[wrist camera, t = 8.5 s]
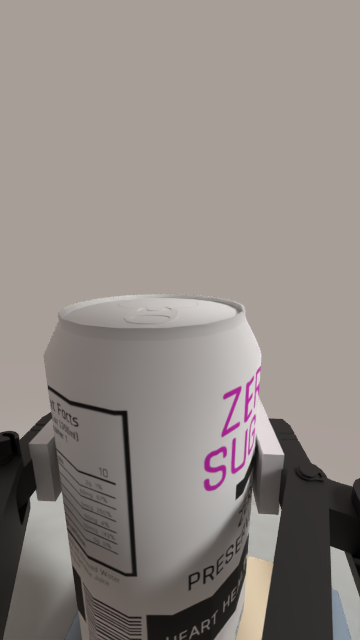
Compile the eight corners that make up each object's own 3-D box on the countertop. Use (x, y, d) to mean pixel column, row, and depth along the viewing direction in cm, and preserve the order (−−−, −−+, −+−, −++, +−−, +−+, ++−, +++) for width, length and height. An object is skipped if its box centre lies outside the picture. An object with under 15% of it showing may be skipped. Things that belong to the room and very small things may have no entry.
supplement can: (107, 511, 18) (87, 293, 14) (227, 511, 17) (237, 292, 14) (45, 718, 10) (-33, 335, 6) (265, 720, 10) (309, 334, 6)
